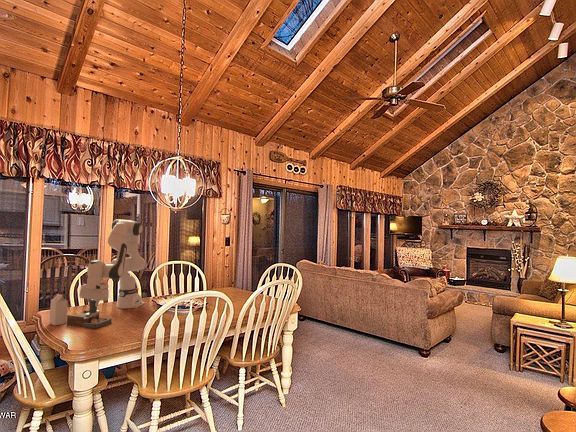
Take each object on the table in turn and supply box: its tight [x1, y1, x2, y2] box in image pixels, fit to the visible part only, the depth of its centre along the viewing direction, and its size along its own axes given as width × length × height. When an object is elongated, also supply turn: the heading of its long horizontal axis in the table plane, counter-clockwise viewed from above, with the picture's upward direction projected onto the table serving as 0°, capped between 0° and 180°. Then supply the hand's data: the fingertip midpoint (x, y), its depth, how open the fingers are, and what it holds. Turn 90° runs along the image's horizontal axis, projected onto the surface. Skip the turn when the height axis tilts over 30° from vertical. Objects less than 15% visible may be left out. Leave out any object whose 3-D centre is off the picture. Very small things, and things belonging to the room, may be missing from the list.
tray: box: [81, 316, 112, 330], centre depth 225 cm, size 14×10×3 cm
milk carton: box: [49, 293, 69, 326], centre depth 226 cm, size 7×7×19 cm
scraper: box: [85, 299, 101, 317], centre depth 226 cm, size 10×3×10 cm, turn 166°
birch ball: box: [98, 316, 106, 322], centre depth 228 cm, size 4×4×4 cm
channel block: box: [66, 309, 100, 328], centre depth 228 cm, size 14×12×6 cm
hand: (93, 305), depth 226 cm, fingers closed on scraper, 3 cm apart
